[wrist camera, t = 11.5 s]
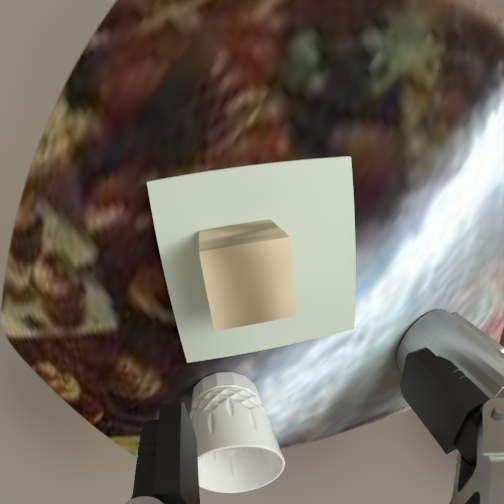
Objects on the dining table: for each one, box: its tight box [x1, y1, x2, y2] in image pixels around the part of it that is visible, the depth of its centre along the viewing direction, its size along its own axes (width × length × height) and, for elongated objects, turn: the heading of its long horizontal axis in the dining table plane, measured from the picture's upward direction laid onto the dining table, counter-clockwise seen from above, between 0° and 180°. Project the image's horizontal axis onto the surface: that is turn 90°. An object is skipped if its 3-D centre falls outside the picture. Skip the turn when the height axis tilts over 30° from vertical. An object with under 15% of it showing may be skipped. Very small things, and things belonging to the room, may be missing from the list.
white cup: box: [190, 372, 285, 493], centre depth 25 cm, size 8×8×10 cm
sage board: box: [147, 156, 355, 363], centre depth 26 cm, size 16×16×1 cm
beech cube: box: [199, 219, 296, 331], centre depth 22 cm, size 6×6×6 cm
